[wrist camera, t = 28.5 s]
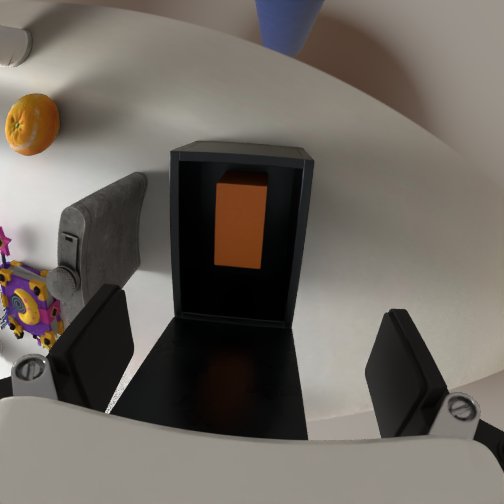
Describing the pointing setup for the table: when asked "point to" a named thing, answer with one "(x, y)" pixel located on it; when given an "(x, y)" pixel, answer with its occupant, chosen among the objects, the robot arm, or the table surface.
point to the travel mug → (14, 46)
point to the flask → (97, 243)
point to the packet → (240, 219)
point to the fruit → (32, 124)
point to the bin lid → (219, 381)
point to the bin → (203, 233)
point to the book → (28, 300)
